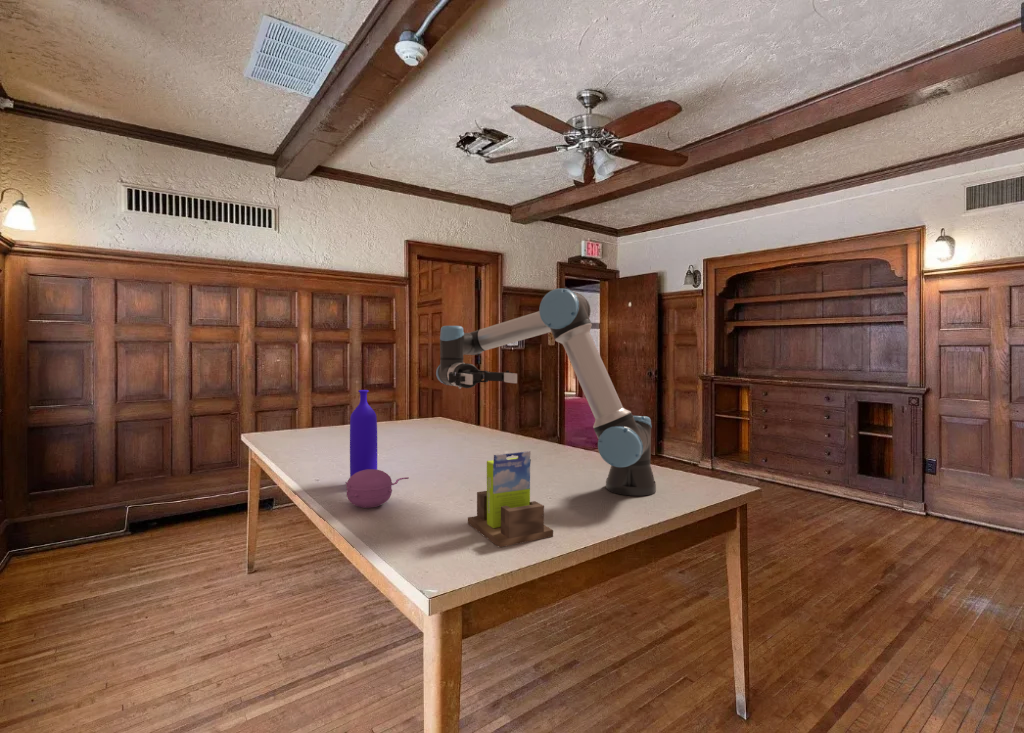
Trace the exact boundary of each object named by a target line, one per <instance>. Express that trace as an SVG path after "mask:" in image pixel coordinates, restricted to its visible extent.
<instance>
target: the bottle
mask: <svg viewBox="0 0 1024 733" xmlns="http://www.w3.org/2000/svg"><path fill="white" fill-rule="evenodd" d="M368 392H370V391H369V390H368V389H359V390H358V393H359V395H360V396H359V399H360V400H359V404H358V405H357V407H355V409H354V410H353V411H352V412H351V414H350V418H349V419H350V420H349V474H350V475H349V476H350V477H351V476H352V475H354V474H355V473H357V472H359V471H362V470H367V469H376V470H378V420H377V414H376V411H375V410H374V409H373V408H372V407H371V405H369V403H368V399H367V398H368V396H367V395H368ZM350 477H349V478H350Z"/></svg>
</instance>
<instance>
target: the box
mask: <svg viewBox="0 0 1024 733" xmlns="http://www.w3.org/2000/svg"><path fill="white" fill-rule="evenodd" d="M531 455H532V454H531V450H529V451H521V452H519V451H518V452H513V453H511V452H510V453H500V454H493V459H492V460H487V461H486V491H487V524H488V525H489V526H490V527H492V528H498V527H501V506H508V507H510V508H515V507H521V506H527V505H529V502H531V461H532V459H531ZM512 456H515V457H512ZM516 456H517V457H516ZM509 457H510V458H509Z"/></svg>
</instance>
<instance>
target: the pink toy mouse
mask: <svg viewBox="0 0 1024 733" xmlns="http://www.w3.org/2000/svg"><path fill="white" fill-rule="evenodd" d="M408 479H410V478H409V477H400V478H398V479H396V480H395V482H392V478H391V476H390V475H389V474H388V473H387V472H385V471H383V470H380V469H377V470H376V469H367V470H362V471H359V472H357V473H355V474H354V475H352V476H351V477H349V478H348V480H347V481H345V484H346V498H347V499H348V502H350V504H352V505H353V506H355V507H357V508H364V509H371V508H377V507H379V506H382V505H383V504H386V503H387V502H388V501H389V499H390V498H391V496H392V494H393V493H392V492H393V489H392V486H394V485H397V484H398V483H399V481H402V480H408Z"/></svg>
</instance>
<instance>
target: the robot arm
mask: <svg viewBox="0 0 1024 733" xmlns="http://www.w3.org/2000/svg"><path fill="white" fill-rule="evenodd" d="M591 313H592V312H591V305H590V303H589V301H588V299H587V298H586V297H585V296H584V295H582V294H581V293H578V292H575V291H573V290H570V289H569V288H555V289H554V288H553V289H552V290H550V291H549V292H546V294H545V295H544V296H543V297H542V299H541V301H540V304H539V310H538V311H536V312H533V313H529V314H526V315H522V316H519V317H516V318H513V319H510V320H505V321H503V322H499V323H496V324H493V325H490V326H487V327H484V328H479V329H477V330H474V331H471V332H464V327H463V326H461V325H443V326H441V328H440V335H439V354H440V355H439V356H440V358H439V359H440V360H439V365H438V367H437V368H436V370H435V371H436V372H435V375H436V378H437V380H438V381H439V382H440V383H441V384H443V385H446V386H451V387H452V386H453V387H458V389H459V390H460V389H462V388H464V389H471V388H473V387H474V386H476V385H477V384H479V383H488V382H503V383H510V384H518V373H514V372H511V371H510V370H505V371H504V372H501V371H495V372H494V371H488V370H480V369H479V368H477V367H476V366H475V365H474V364H473V363H472V364H471V363H468V362H467V363H466V362H464V355H467V356H468V355H469V356H476V355H480V354H482V353H483V352H485V351H488V350H493V349H495V348H498V347H502V346H506V345H508V344H509V345H510V344H513V343H517V342H520V341H523V340H527V339H530V338H534V337H538V336H541V335H545V334H549V333H551V334H552V336H553V338H554V340H555V342H557V343H559V344H561V345H562V346H563V348H564V350H565V352H566V355H567V358H568V360H569V361H570V364H571V367H572V369H573V371H574V373H575V376H576V378H577V381H578V382H579V385H580V387H581V389H582V392H583V394H584V396H585V399H586V401H587V403H588V407H590V410H591V412H592V415H593V418H594V423H593V426H592V428H593V429H594V430H593V431H594V433H595V435H596V437H597V439H598V441H597V449H598V450H597V451H598V454H599V456H600V457H601V458H602V460H603V461H605V463H607V464H608V465H610V469H609V471H608V475H607V477H606V480H605V489H606V490H607V491H609V492H612V494H613V493H614V494H618V495H622V496H634V497H638V496H639V497H641V496H643V497H644V496H648V495H649V496H650V495H652V494H653V495H654V494H655V493H656V492H657V483H656V481H655V478H654V474H653V470H652V467H651V456H652V455H651V454H652V453H651V450H652V449H651V447H652V438H651V437H652V426H653V425H652V420H651V418H650V417H649V416H646V415H643V416H642V415H633V413H632V411H631V410H629V409H626V408H625V407H624V406H623V403H622V402H621V400H620V398H619V394H618V393H617V391H616V389H615V386H614V383H613V382H612V379H611V377H610V374H609V373H608V370H607V368H606V366H605V364H604V362H603V359H602V357H601V354H600V352H599V350H598V348H597V346H596V344H595V341H594V339H593V337H592V335H591V329H592V325H593V324H592V322H591V319H590V317H591Z"/></svg>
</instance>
